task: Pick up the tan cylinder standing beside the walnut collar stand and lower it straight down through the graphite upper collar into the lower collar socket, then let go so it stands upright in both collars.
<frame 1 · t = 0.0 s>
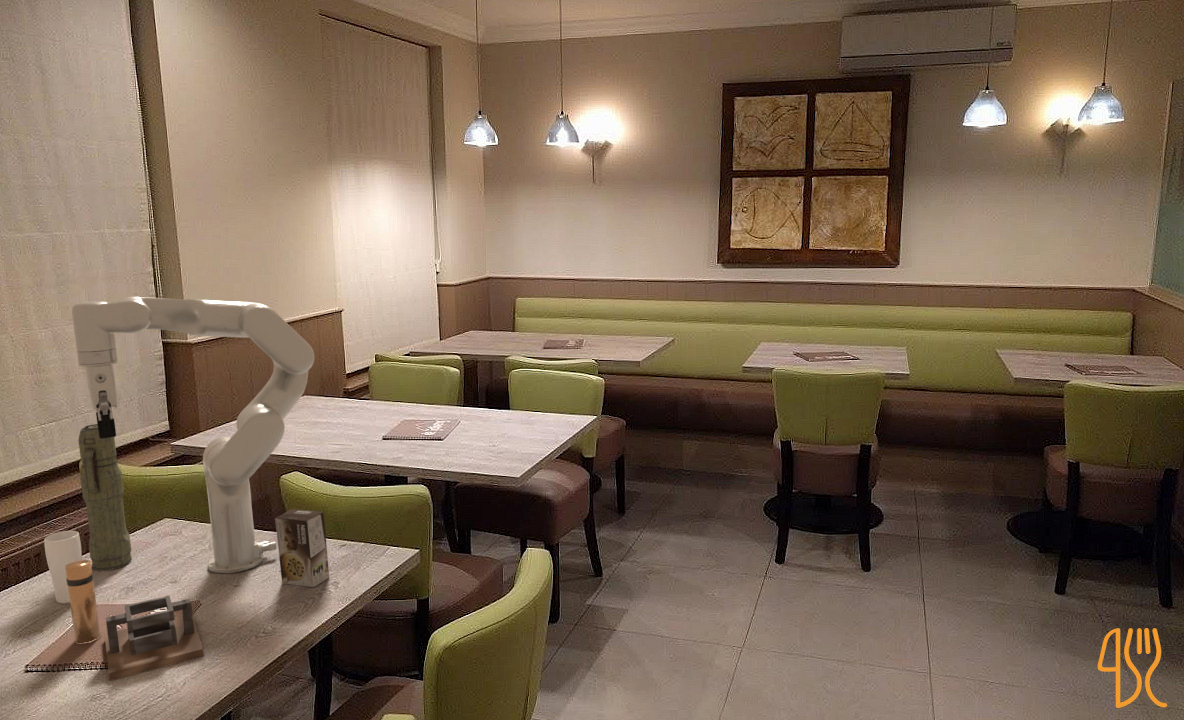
hand: (107, 432, 192), 37 cm above the table, tool pointing down, fingers open, 9 cm apart
coffee box: (305, 581, 199), on the table
tan cylinder: (88, 639, 174), on the table
collar stand: (153, 648, 169), on the table
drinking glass: (70, 600, 192), on the table
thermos: (112, 564, 212), on the table
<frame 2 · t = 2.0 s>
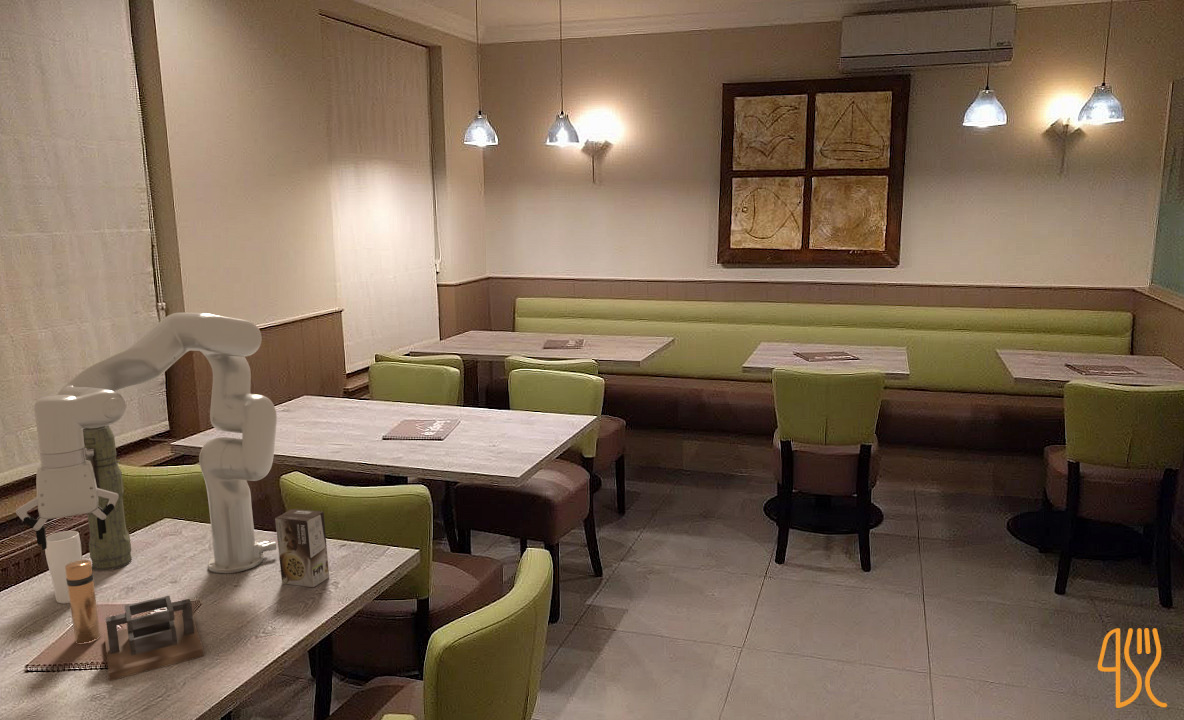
hand: (73, 542, 170), 21 cm above the table, tool pointing down, fingers open, 9 cm apart
nothing on the table moved.
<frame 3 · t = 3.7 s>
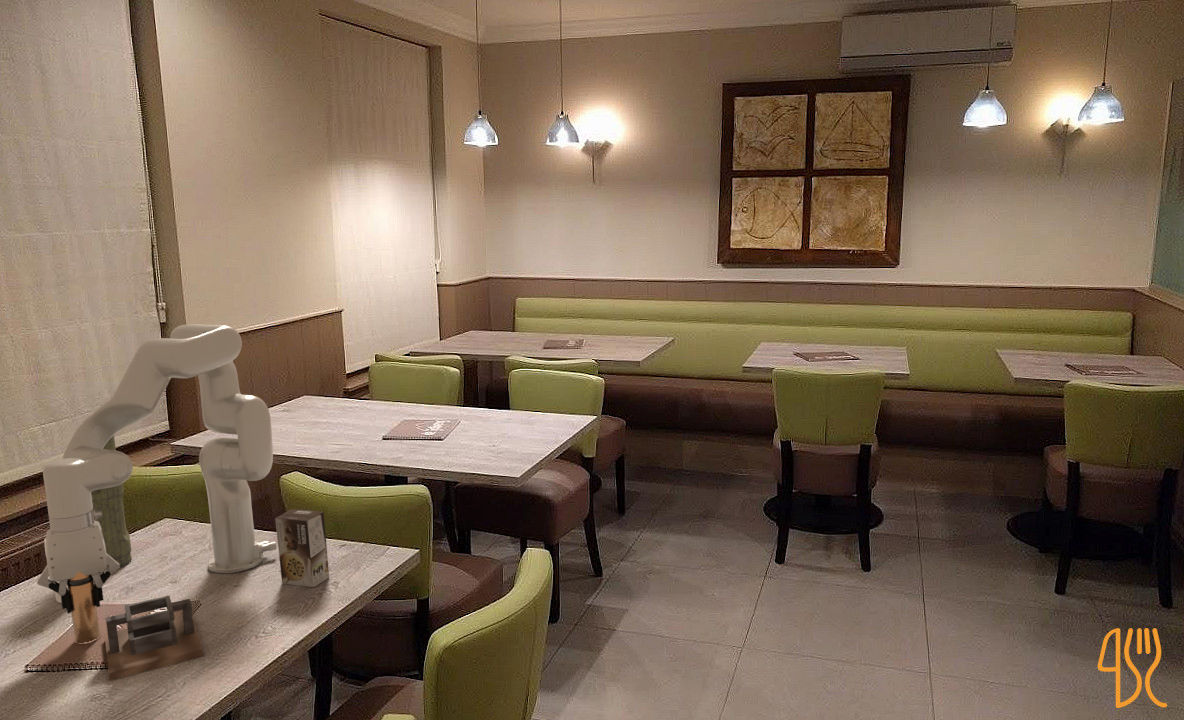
hand: (83, 606, 172), 7 cm above the table, tool pointing down, fingers closed on tan cylinder, 4 cm apart
tan cylinder: (88, 639, 174), on the table, touching gripper
everything else where it was.
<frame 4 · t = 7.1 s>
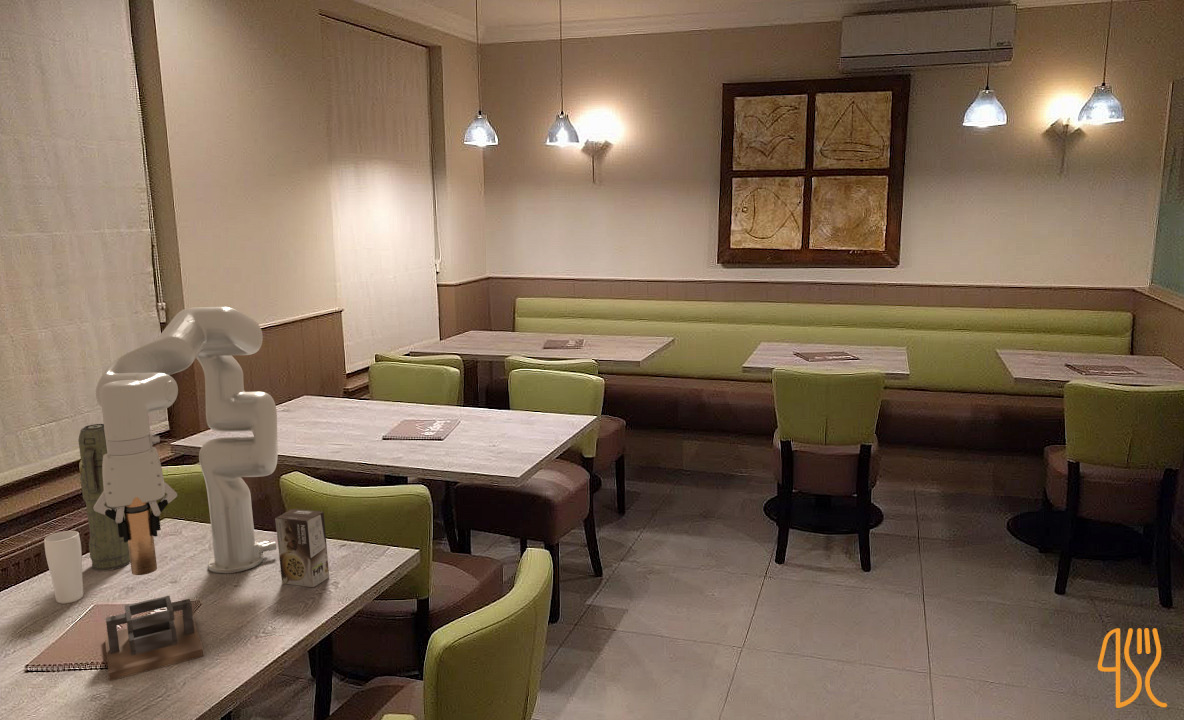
hand: (140, 536, 165), 23 cm above the table, tool pointing down, fingers closed on tan cylinder, 4 cm apart
tan cylinder: (144, 570, 166), point 16 cm above the table, touching gripper
everything else where it was.
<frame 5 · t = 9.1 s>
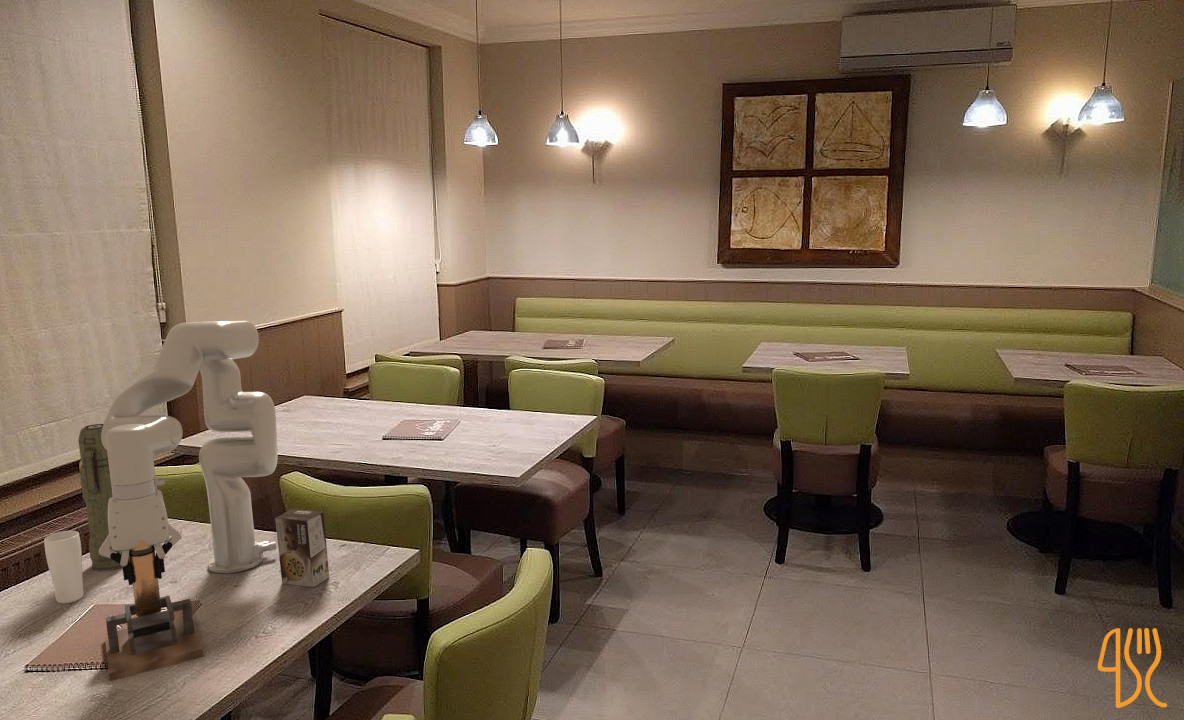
hand: (144, 578, 166), 15 cm above the table, tool pointing down, fingers closed on tan cylinder, 4 cm apart
tan cylinder: (148, 612, 168), point 8 cm above the table, touching gripper
everything else where it was.
when the fingers open (10 cm above the table, at t = 10.7 s): tan cylinder drops 1 cm, resting on collar stand.
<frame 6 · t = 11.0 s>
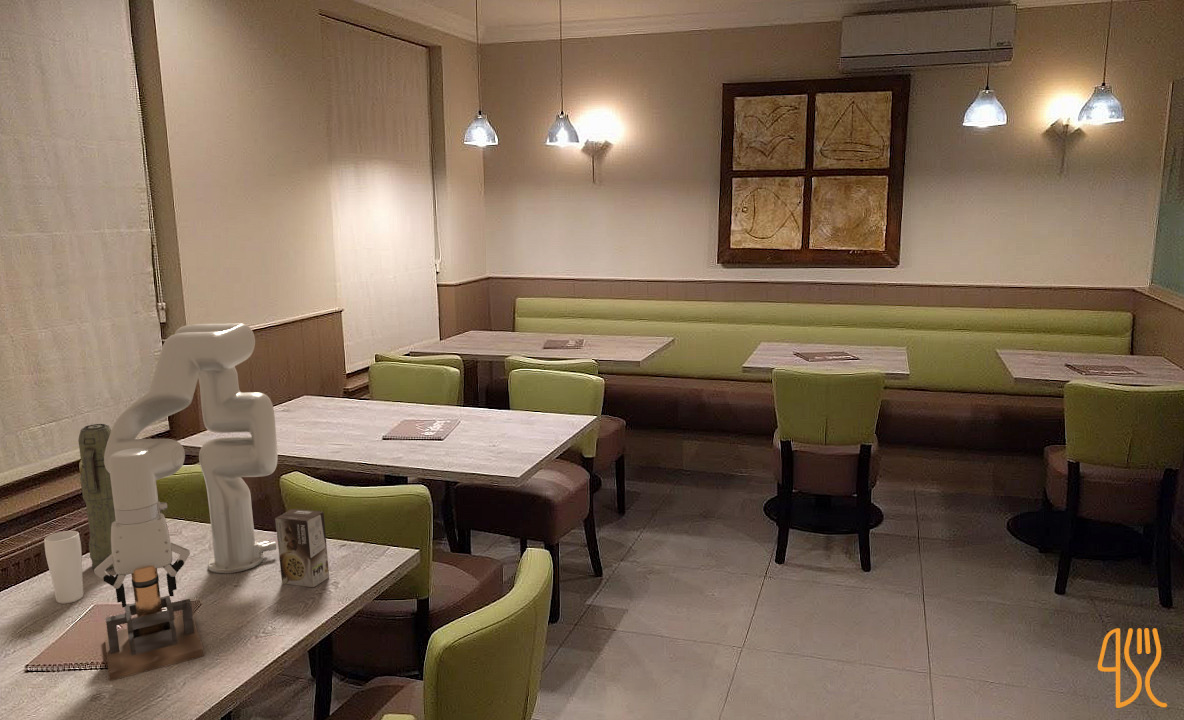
hand: (147, 598, 167), 10 cm above the table, tool pointing down, fingers open, 7 cm apart
tan cylinder: (152, 640, 169), point 2 cm above the table, touching collar stand
everything else where it was.
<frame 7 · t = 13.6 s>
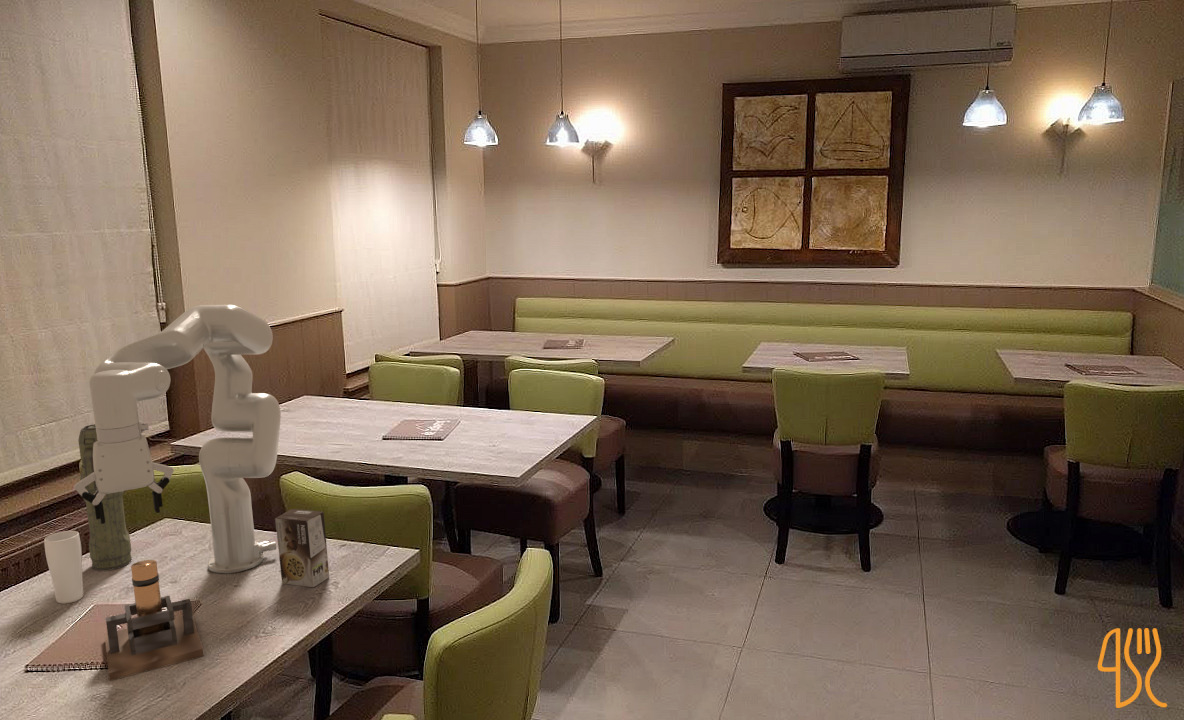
hand: (130, 516, 171), 25 cm above the table, tool pointing down, fingers open, 9 cm apart
nothing on the table moved.
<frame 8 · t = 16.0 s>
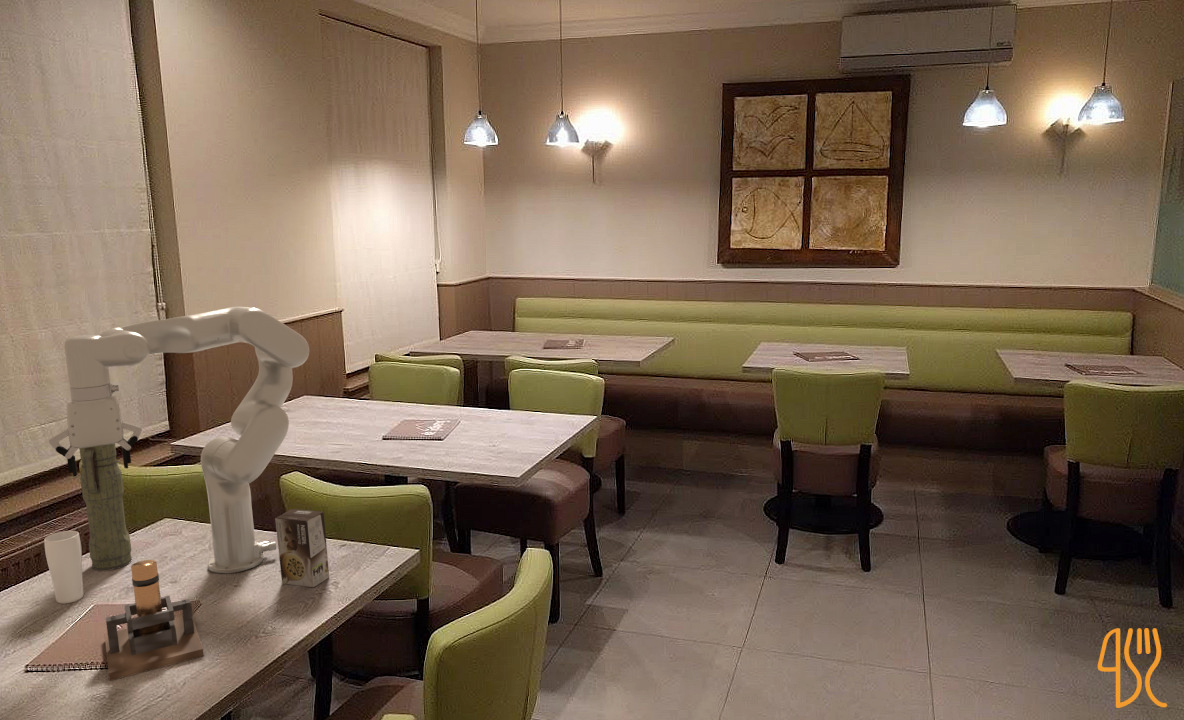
hand: (101, 470, 185), 30 cm above the table, tool pointing down, fingers open, 9 cm apart
nothing on the table moved.
at the end: tan cylinder 0.0 cm off-centre on the collar stand, point 1.5 cm above the collar stand's base; tan cylinder tilted 0°; the gripper is holding nothing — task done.
